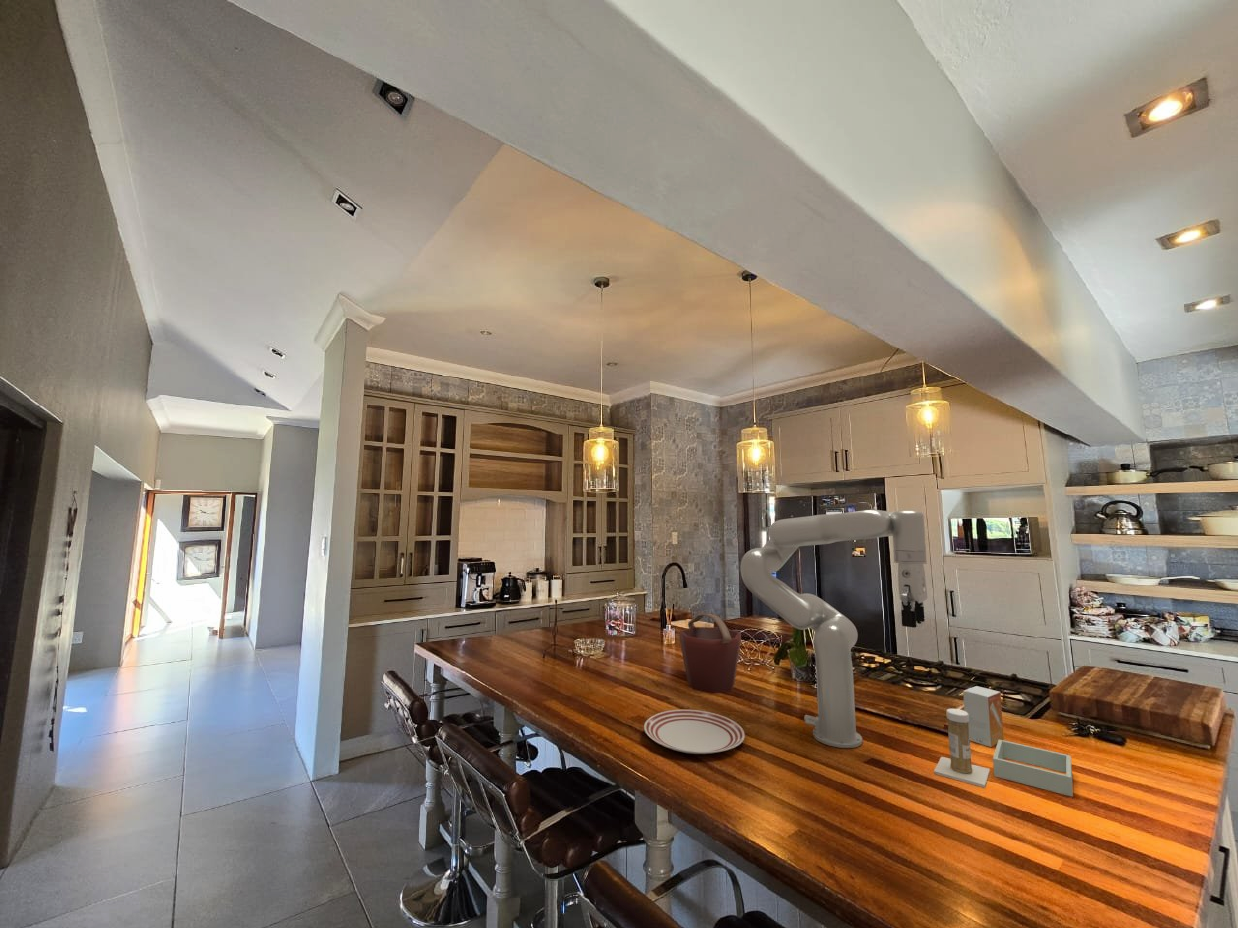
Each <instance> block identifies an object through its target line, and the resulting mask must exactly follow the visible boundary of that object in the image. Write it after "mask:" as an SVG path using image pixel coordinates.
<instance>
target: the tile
mask: <svg viewBox="0 0 1238 928" xmlns="http://www.w3.org/2000/svg"><path fill="white" fill-rule="evenodd" d="M950 764H951V758H949V757H945V756H941V757H940V758H939V761H938V762H937V764H936V766H935V768H934V770H933V774H934V775H938V776H941V777H944V778H948V779H952V780H956V781H958V782H963V783H966V784H969V785H974V786H976V787H981V788H985V789H986V786H987V782H988V780H989V777H990V773H991V769H990V768H988V767H983V766H980V765H975V764H972V763H971V765H972V770H973V771H972V772H971V773H960V772H957V771H955V770H953V769H952V768H951V767H950Z"/></svg>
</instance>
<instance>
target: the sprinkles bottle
mask: <svg viewBox="0 0 1238 928" xmlns="http://www.w3.org/2000/svg"><path fill="white" fill-rule="evenodd" d="M945 714H946V718H947V728H948V729H947V730H948V731H947V733H948V746H949V754H950V755H949V756H950V758H949V759H951V764H950V767H951V768H952V769H953V770H955V771H957V772H960V773H971V772H972V771H973V770H972V765H973V764H972V752H971V751H972V750H971V749H972V748H971V741H970V737H969V727H968V723H969V714H968V713H967V712H966V711H964V710H963V709H958V708H948V709H946V713H945ZM971 764H972V765H971Z"/></svg>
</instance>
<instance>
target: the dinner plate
mask: <svg viewBox="0 0 1238 928" xmlns="http://www.w3.org/2000/svg"><path fill="white" fill-rule="evenodd" d="M643 730H644V732H645V734H646V735H647V736H648V737H649V738H650V739H651V740H652V741H654V742H655V743H657V744H658V745H661V746H663V747H665V748H668V749H670V750H673V751H676V752H681V753H685V754H691V755H692V754H693V755H707V754H716V753H721V752H726V751H729V750H732V749H735V748H737V747H738V746H740V745H742V743H743V742H744V740H745V736H746V733H745V731H744V729H743V728H742V726H741V725H740V724H739V723H737V722H736V721H734V720H732V719H731V718H728V717H726V716H723V715H721V714H717V713H714V712H709V711H705V710H696V709H672V710H666V711H662V712H659V713H656V714H654V715H652V716H650V717H649V718H648V719H647V720H646V721H645V722H644V725H643Z"/></svg>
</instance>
